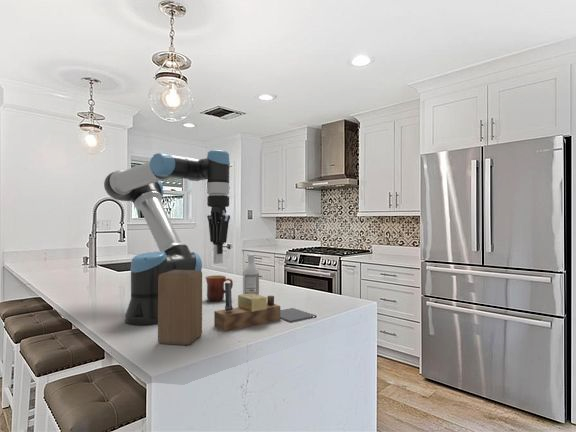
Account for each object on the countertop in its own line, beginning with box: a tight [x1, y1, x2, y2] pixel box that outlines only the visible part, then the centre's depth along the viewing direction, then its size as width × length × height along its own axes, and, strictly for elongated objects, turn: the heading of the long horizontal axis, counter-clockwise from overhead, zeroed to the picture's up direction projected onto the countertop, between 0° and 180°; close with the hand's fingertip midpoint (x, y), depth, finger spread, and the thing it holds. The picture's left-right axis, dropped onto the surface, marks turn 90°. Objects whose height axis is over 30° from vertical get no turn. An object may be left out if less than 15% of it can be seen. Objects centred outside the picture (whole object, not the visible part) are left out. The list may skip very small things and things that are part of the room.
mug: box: [205, 274, 234, 303], centre depth 162 cm, size 12×9×10 cm
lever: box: [224, 282, 234, 311], centre depth 123 cm, size 2×2×9 cm
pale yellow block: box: [237, 293, 267, 312], centre depth 128 cm, size 6×9×4 cm, turn 37°
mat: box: [280, 307, 317, 323], centre depth 137 cm, size 12×14×1 cm
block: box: [157, 270, 203, 346], centre depth 109 cm, size 10×10×20 cm
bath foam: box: [242, 253, 260, 295], centre depth 164 cm, size 7×7×20 cm
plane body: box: [213, 295, 281, 332], centre depth 127 cm, size 22×7×8 cm, turn 127°
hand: (218, 263), depth 129 cm, fingers closed
